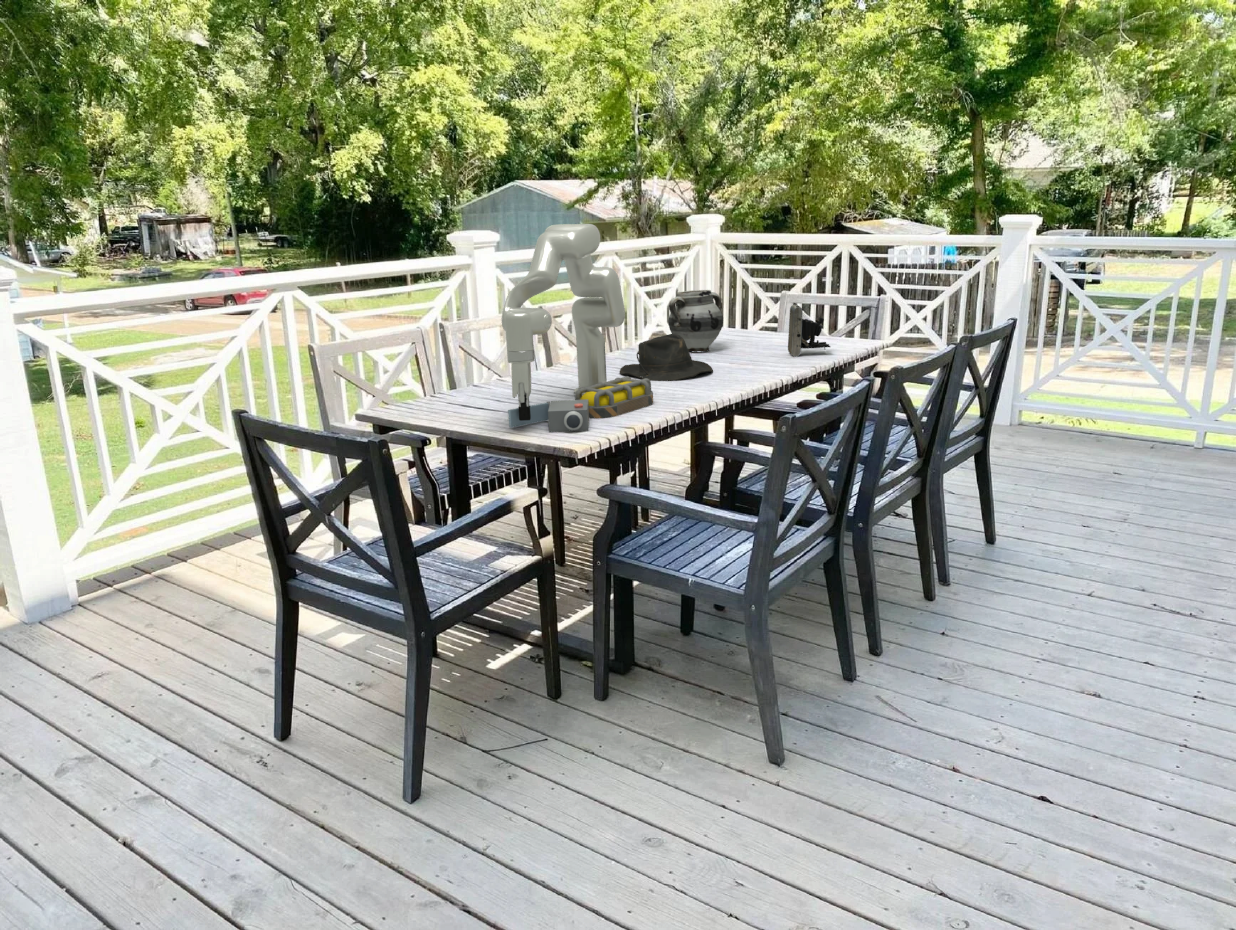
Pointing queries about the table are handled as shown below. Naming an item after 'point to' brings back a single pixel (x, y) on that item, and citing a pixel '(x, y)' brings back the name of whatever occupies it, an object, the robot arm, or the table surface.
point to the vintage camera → (803, 332)
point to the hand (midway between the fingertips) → (525, 419)
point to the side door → (537, 415)
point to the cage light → (616, 397)
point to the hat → (665, 360)
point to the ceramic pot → (696, 318)
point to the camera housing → (568, 415)
